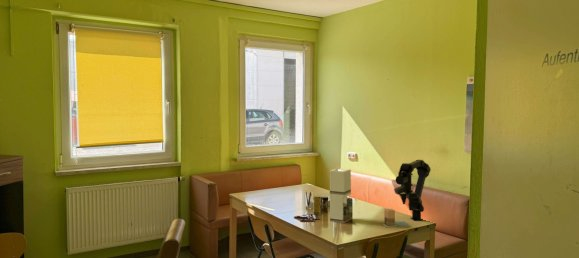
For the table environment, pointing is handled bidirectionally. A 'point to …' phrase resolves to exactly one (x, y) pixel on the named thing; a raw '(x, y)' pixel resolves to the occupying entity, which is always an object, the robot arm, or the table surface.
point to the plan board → (397, 224)
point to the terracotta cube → (389, 213)
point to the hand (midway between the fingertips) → (407, 205)
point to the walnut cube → (389, 221)
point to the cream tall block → (339, 194)
